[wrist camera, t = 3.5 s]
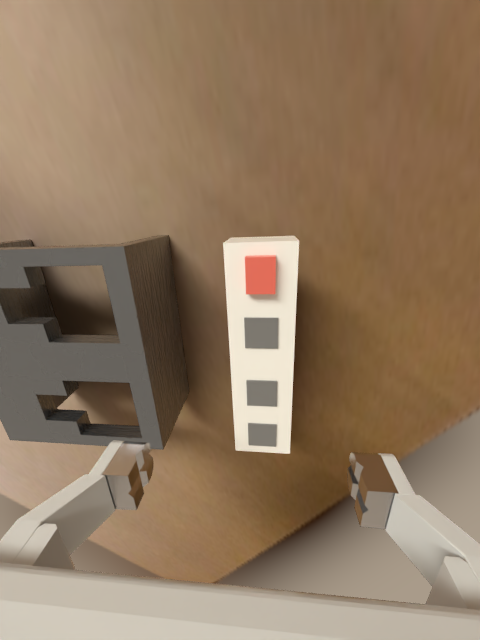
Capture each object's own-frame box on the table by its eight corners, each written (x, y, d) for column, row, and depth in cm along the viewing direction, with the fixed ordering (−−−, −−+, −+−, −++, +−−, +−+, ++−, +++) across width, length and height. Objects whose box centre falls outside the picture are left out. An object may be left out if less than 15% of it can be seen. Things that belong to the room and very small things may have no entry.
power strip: (290, 231, 20) (300, 241, 13) (285, 395, 26) (290, 460, 19) (237, 233, 21) (221, 244, 14) (243, 393, 26) (234, 457, 19)
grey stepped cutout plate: (168, 235, 21) (123, 246, 15) (189, 391, 27) (163, 449, 20) (20, 240, 23) (-80, 252, 16) (69, 387, 28) (10, 440, 22)
